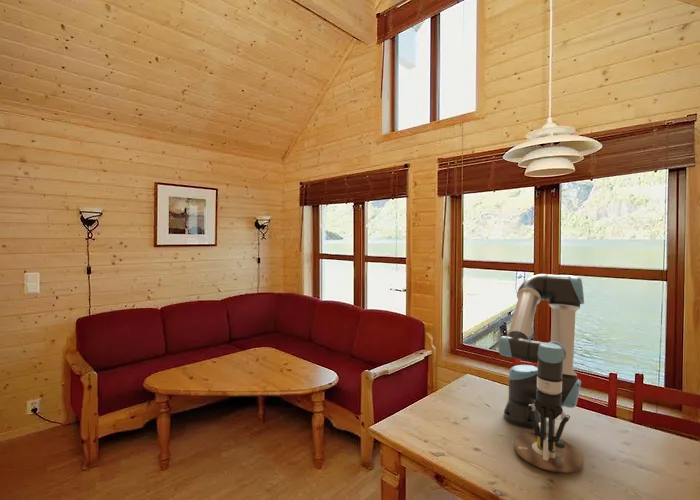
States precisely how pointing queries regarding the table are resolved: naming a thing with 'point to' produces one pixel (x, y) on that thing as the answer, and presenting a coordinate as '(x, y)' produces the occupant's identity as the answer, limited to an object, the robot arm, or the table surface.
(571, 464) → the disc
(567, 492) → the table surface
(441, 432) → the table surface
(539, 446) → the pill bottle
